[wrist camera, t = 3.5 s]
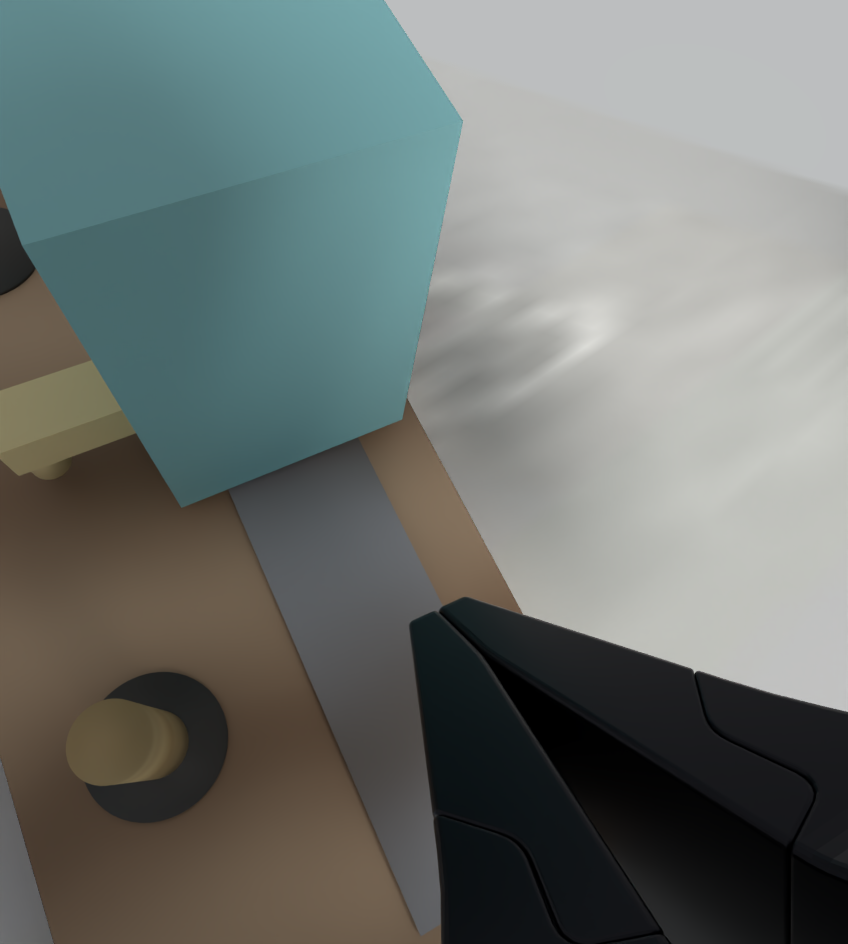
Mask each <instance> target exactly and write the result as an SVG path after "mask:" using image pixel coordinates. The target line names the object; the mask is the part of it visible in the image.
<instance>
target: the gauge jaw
mask: <svg viewBox="0 0 848 944" xmlns="http://www.w3.org/2000/svg"><path fill="white" fill-rule="evenodd" d="M462 123H463V120H462V119H461V117H460V116H459V114H458V112H457V111H456V109H455V108H454V106H453V105H452V103H451V102H450V100H449V99H448V97H447V96H446V94H445V93H444V91H443V90H442V88H441V86H440V85H439V83H438V82H437V80H436V79H435V77H434V76H433V74H432V73H431V71H430V70H429V68H428V67H427V65H426V64H425V62H424V60H423V59H422V57H421V56H420V54H419V53H418V51H417V50H416V48H415V47H414V45H413V44H412V42H411V41H410V39H409V38H408V36H407V34H406V33H405V31H404V30H403V28H402V27H401V25H400V24H399V22H398V21H397V19H396V18H395V16H394V15H393V13H392V12H391V10H390V8H389V7H388V6H387V4H386V2H385V1H384V0H0V189H1V191H2V194H3V197H4V199H5V202H6V204H7V207H8V210H9V212H10V215H11V218H12V220H13V223H14V226H15V228H16V231H17V234H18V236H19V239H20V242H21V244H22V246H23V248H24V250H25V251H26V253H27V255H28V256H29V258H30V260H31V261H32V263H33V264H34V266H35V268H36V269H37V271H38V273H39V274H40V276H41V278H42V279H43V281H44V283H45V284H46V286H47V288H48V289H49V291H50V292H51V294H52V296H53V297H54V299H55V301H56V302H57V304H58V306H59V307H60V309H61V311H62V312H63V314H64V315H65V317H66V319H67V320H68V322H69V324H70V325H71V327H72V329H73V330H74V332H75V334H76V335H77V337H78V339H79V340H80V342H81V343H82V345H83V347H84V348H85V350H86V352H87V353H88V355H89V357H90V358H91V361H88V362H85V363H82V364H79V365H76V366H73V367H70V368H67V369H64V370H61V371H58V372H55V373H52V374H49V375H46V376H43V377H40V378H37V379H34V380H31V381H28V382H25V383H22V384H19V385H16V386H13V387H10V388H7V389H4V390H0V460H1V461H2V462H4V463H5V464H6V465H7V466H8V467H9V468H10V469H11V470H12V471H14V472H15V473H16V474H17V475H18V476H21V475H23V474H26V473H29V472H32V473H33V474H34V475H35V476H36V477H38V478H40V479H44V480H52V479H56V478H59V477H61V476H62V475H64V474H65V473H66V472H67V471H68V469H69V468H70V466H71V462H72V456H75V455H78V454H81V453H83V452H86V451H89V450H92V449H94V448H97V447H100V446H103V445H105V444H108V443H111V442H113V441H116V440H119V439H122V438H124V437H127V436H130V435H133V434H135V433H136V434H137V436H138V437H139V439H140V440H141V442H142V444H143V445H144V447H145V449H146V450H147V452H148V454H149V455H150V457H151V459H152V460H153V462H154V464H155V465H156V467H157V468H158V470H159V472H160V473H161V475H162V477H163V478H164V480H165V482H166V483H167V485H168V487H169V488H170V490H171V491H172V493H173V495H174V496H175V498H176V500H177V501H178V503H179V505H180V506H181V508H182V507H185V506H187V505H190V504H192V503H195V502H197V501H200V500H202V499H205V498H207V497H210V496H212V495H215V494H217V493H220V492H222V491H225V490H227V489H230V488H232V487H235V486H237V485H240V484H242V483H245V482H247V481H250V480H252V479H255V478H257V477H260V476H262V475H265V474H267V473H270V472H272V471H275V470H277V469H280V468H282V467H285V466H287V465H290V464H292V463H295V462H297V461H300V460H302V459H305V458H307V457H310V456H312V455H315V454H317V453H320V452H322V451H325V450H327V449H330V448H332V447H335V446H337V445H340V444H342V443H345V442H347V441H350V440H352V439H355V438H357V437H360V436H362V435H365V434H367V433H370V432H372V431H375V430H377V429H380V428H382V427H385V426H387V425H390V424H392V423H395V422H397V421H400V420H402V418H403V413H404V408H405V403H406V398H407V393H408V388H409V383H410V379H411V374H412V369H413V364H414V359H415V354H416V349H417V344H418V339H419V334H420V329H421V325H422V320H423V315H424V310H425V305H426V300H427V295H428V290H429V285H430V280H431V276H432V271H433V266H434V261H435V256H436V251H437V246H438V241H439V236H440V231H441V226H442V222H443V217H444V212H445V207H446V202H447V197H448V192H449V187H450V182H451V177H452V172H453V168H454V163H455V158H456V153H457V148H458V143H459V138H460V133H461V128H462Z"/></svg>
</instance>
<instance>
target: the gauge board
mask: <svg viewBox="0 0 848 944" xmlns="http://www.w3.org/2000/svg"><path fill="white" fill-rule="evenodd" d="M88 361H91V358H90V357H89V355H88V353H87V352H86V350H85V348H84V347H83V345H82V343H81V342H80V340H79V339H78V337H77V335H76V334H75V332H74V330H73V329H72V327H71V325H70V324H69V322H68V320H67V319H66V317H65V315H64V314H63V312H62V311H61V309H60V307H59V306H58V304H57V302H56V301H55V299H54V297H53V296H52V294H51V292H50V291H49V289H48V288H47V286H46V284H45V283H44V281H43V279H42V278H41V276H40V274H39V273H38V271H37V269H36V268H35V266H34V264H33V263H32V261H31V260H30V258H29V256H28V255H27V253H26V251H25V250H24V248H23V246H22V244H21V242H20V239H19V236H18V234H17V231H16V228H15V226H14V223H13V220H12V218H11V215H10V212H9V210H8V207H7V204H6V202H5V199H4V197H3V194H2V191H1V189H0V390H4V389H7V388H10V387H13V386H16V385H19V384H22V383H25V382H28V381H31V380H34V379H37V378H40V377H43V376H46V375H49V374H52V373H55V372H58V371H61V370H64V369H67V368H70V367H73V366H76V365H79V364H82V363H85V362H88ZM461 597H470V598H474V599H477V600H480V601H483V602H486V603H489V604H492V605H495V606H498V607H502V608H505V609H508V610H511V611H514V612H517V613H520V614H523V613H522V612H521V610H520V608H519V606H518V604H517V602H516V600H515V599H514V597H513V595H512V593H511V591H510V589H509V587H508V586H507V584H506V582H505V580H504V578H503V576H502V574H501V573H500V571H499V569H498V567H497V565H496V563H495V561H494V559H493V558H492V556H491V554H490V552H489V550H488V548H487V546H486V545H485V543H484V541H483V539H482V537H481V535H480V533H479V532H478V530H477V528H476V526H475V524H474V522H473V520H472V519H471V517H470V515H469V513H468V511H467V509H466V507H465V506H464V504H463V502H462V500H461V498H460V496H459V494H458V492H457V491H456V489H455V487H454V485H453V483H452V481H451V479H450V478H449V476H448V474H447V472H446V470H445V468H444V466H443V465H442V463H441V461H440V459H439V457H438V455H437V453H436V452H435V450H434V448H433V446H432V444H431V442H430V440H429V439H428V437H427V435H426V433H425V431H424V429H423V427H422V426H421V424H420V422H419V420H418V418H417V416H416V414H415V412H414V411H413V409H412V407H411V405H410V403H409V401H408V399H407V398H406V403H405V408H404V413H403V418H402V420H400V421H397V422H395V423H392V424H390V425H387V426H385V427H382V428H380V429H377V430H375V431H372V432H370V433H367V434H365V435H362V436H360V437H357V438H355V439H352V440H350V441H347V442H345V443H342V444H340V445H337V446H335V447H332V448H330V449H327V450H325V451H322V452H320V453H317V454H315V455H312V456H310V457H307V458H305V459H302V460H300V461H297V462H295V463H292V464H290V465H287V466H285V467H282V468H280V469H277V470H275V471H272V472H270V473H267V474H265V475H262V476H260V477H257V478H255V479H252V480H250V481H247V482H245V483H242V484H240V485H237V486H235V487H232V488H230V489H227V490H225V491H222V492H220V493H217V494H215V495H212V496H210V497H207V498H205V499H202V500H200V501H197V502H195V503H192V504H190V505H187V506H185V507H182V508H181V506H180V505H179V503H178V501H177V500H176V498H175V496H174V495H173V493H172V491H171V490H170V488H169V487H168V485H167V483H166V482H165V480H164V478H163V477H162V475H161V473H160V472H159V470H158V468H157V467H156V465H155V464H154V462H153V460H152V459H151V457H150V455H149V454H148V452H147V450H146V449H145V447H144V445H143V444H142V442H141V440H140V439H139V437H138V436H137V434H136V433H135V434H133V435H130V436H127V437H124V438H122V439H119V440H116V441H113V442H111V443H108V444H105V445H103V446H100V447H97V448H94V449H92V450H89V451H86V452H83V453H81V454H78V455H75V456H72V462H71V466H70V468H69V469H68V471H67V472H66V473H65V474H64V475H62V476H61V477H59V478H56V479H52V480H44V479H40V478H38V477H36V476H35V475H34V474H33V473H32V472H29V473H26V474H23V475H21V476H18V475H17V474H16V473H15V472H14V471H12V470H11V469H10V468H9V467H8V466H7V465H6V464H5V463H4V462H2V461H1V460H0V758H1V761H2V765H3V768H4V772H5V775H6V779H7V782H8V786H9V789H10V793H11V796H12V799H13V803H14V806H15V810H16V813H17V817H18V820H19V824H20V827H21V831H22V834H23V838H24V841H25V845H26V848H27V852H28V855H29V859H30V862H31V865H32V869H33V872H34V876H35V879H36V883H37V886H38V890H39V893H40V897H41V900H42V904H43V907H44V911H45V914H46V918H47V921H48V925H49V928H50V931H51V935H52V938H53V942H54V944H441V898H440V882H439V871H438V859H437V848H436V841H435V833H434V825H433V820H434V818H433V814H432V806H431V798H430V790H429V782H428V774H427V766H426V758H425V750H424V742H423V734H422V726H421V719H420V711H419V703H418V695H417V687H416V679H415V671H414V663H413V655H412V647H411V639H410V631H409V624H410V622H411V621H412V620H414V619H417V618H419V617H421V616H423V615H425V614H427V613H429V612H432V611H438V612H439V609H440V608H441V607H442V606H444V605H446V604H449V603H451V602H453V601H455V600H457V599H459V598H461Z"/></svg>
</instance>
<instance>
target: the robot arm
mask: <svg viewBox="0 0 848 944" xmlns="http://www.w3.org/2000/svg"><path fill="white" fill-rule="evenodd" d="M409 631H410V639H411V647H412V655H413V663H414V671H415V679H416V687H417V695H418V703H419V711H420V719H421V726H422V734H423V742H424V750H425V758H426V766H427V774H428V782H429V790H430V798H431V806H432V814H433V818H434V820H433V825H434V833H435V841H436V848H437V859H438V871H439V882H440V898H441V944H848V712H846V711H841V710H837V709H833V708H828V707H824V706H820V705H816V704H812V703H808V702H804V701H800V700H797V699H793V698H789V697H785V696H781V695H777V694H773V693H770V692H766V691H763V690H759V689H756V688H753V687H749V686H746V685H743V684H739V683H736V682H732V681H729V680H726V679H723V678H720V677H717V676H713V675H710V674H707V673H704V672H701V671H697V672H696V673H695V674H694V671H693V670H692V669H691V668H688V667H685V666H682V665H679V664H675V663H672V662H669V661H666V660H663V659H660V658H657V657H654V656H651V655H648V654H644V653H641V652H638V651H635V650H632V649H629V648H626V647H623V646H620V645H616V644H613V643H610V642H607V641H604V640H601V639H598V638H595V637H592V636H589V635H585V634H582V633H579V632H576V631H573V630H570V629H567V628H564V627H561V626H557V625H554V624H551V623H548V622H545V621H542V620H539V619H536V618H533V617H529V616H526V615H523V614H520V613H517V612H514V611H511V610H508V609H505V608H502V607H498V606H495V605H492V604H489V603H486V602H483V601H480V600H477V599H474V598H470V597H461V598H459V599H457V600H455V601H453V602H451V603H449V604H446V605H444V606H442V607H441V608H440V609H439V612H438V611H432V612H429V613H427V614H425V615H423V616H421V617H419V618H417V619H414V620H412V621H411V622H410V624H409Z"/></svg>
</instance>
